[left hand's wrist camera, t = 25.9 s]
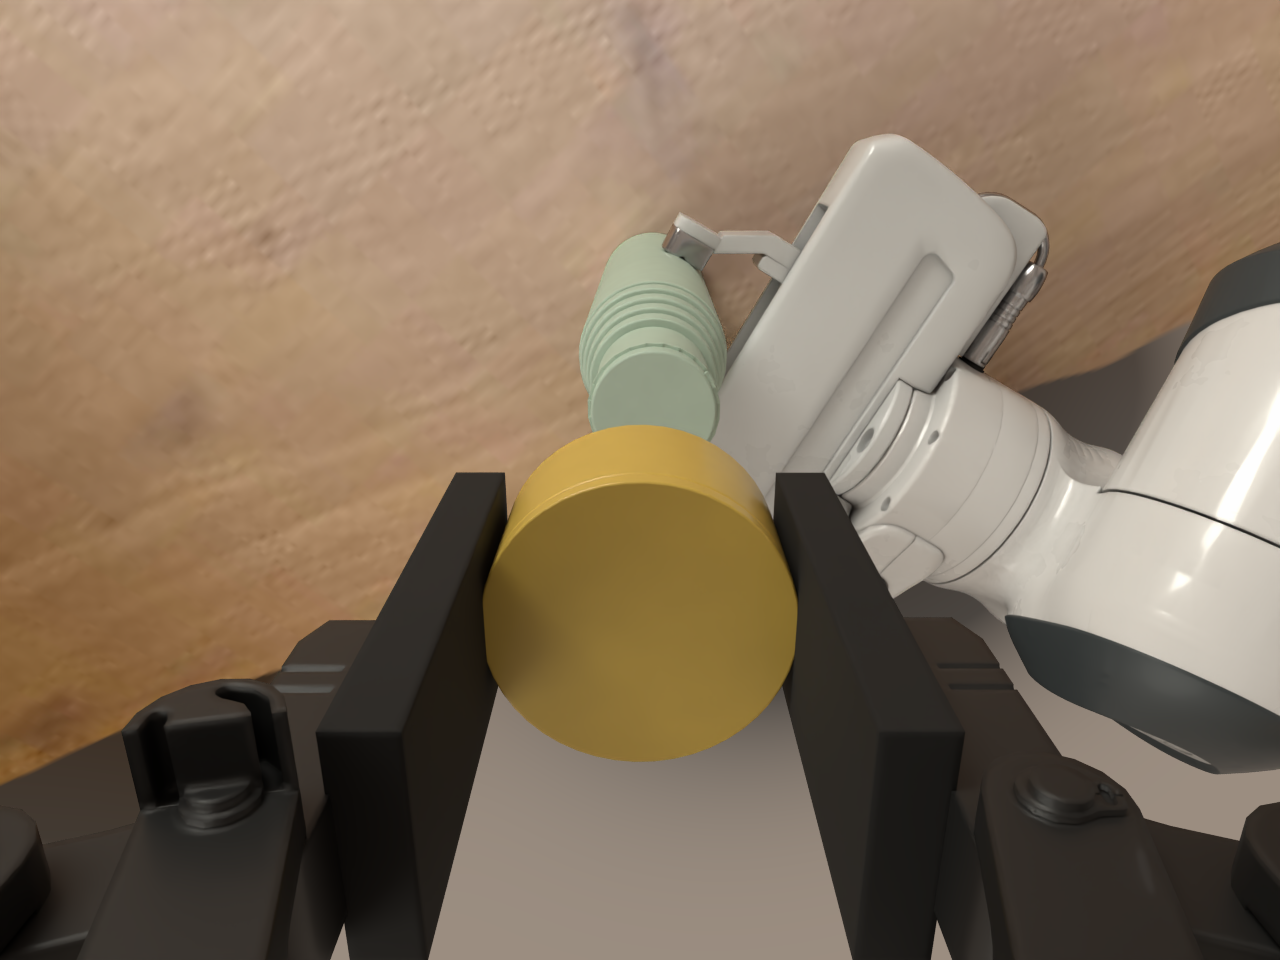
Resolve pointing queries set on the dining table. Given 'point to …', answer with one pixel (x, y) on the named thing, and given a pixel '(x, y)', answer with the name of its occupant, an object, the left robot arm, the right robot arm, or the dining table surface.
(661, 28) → the dining table surface
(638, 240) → the bottle
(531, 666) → the cap
